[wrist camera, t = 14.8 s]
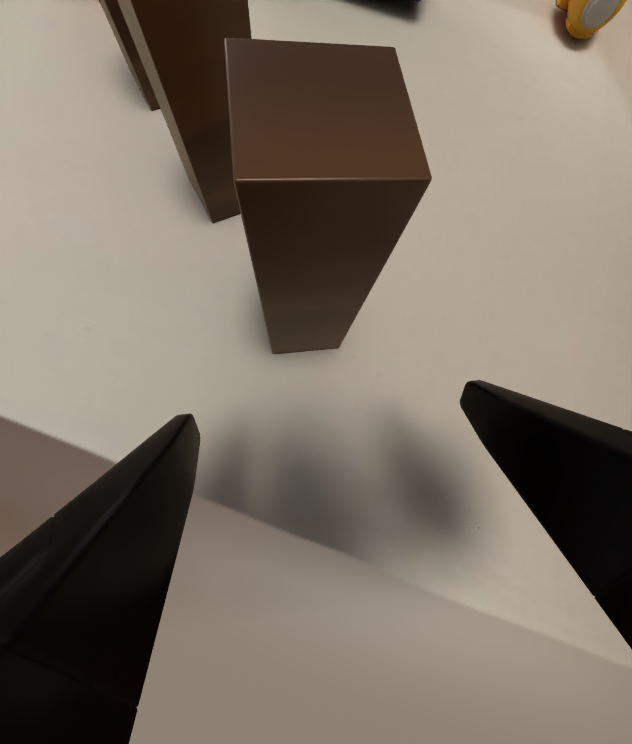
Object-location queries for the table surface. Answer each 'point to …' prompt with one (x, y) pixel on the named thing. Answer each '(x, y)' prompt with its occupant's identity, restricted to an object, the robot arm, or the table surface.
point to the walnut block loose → (320, 178)
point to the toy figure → (588, 15)
